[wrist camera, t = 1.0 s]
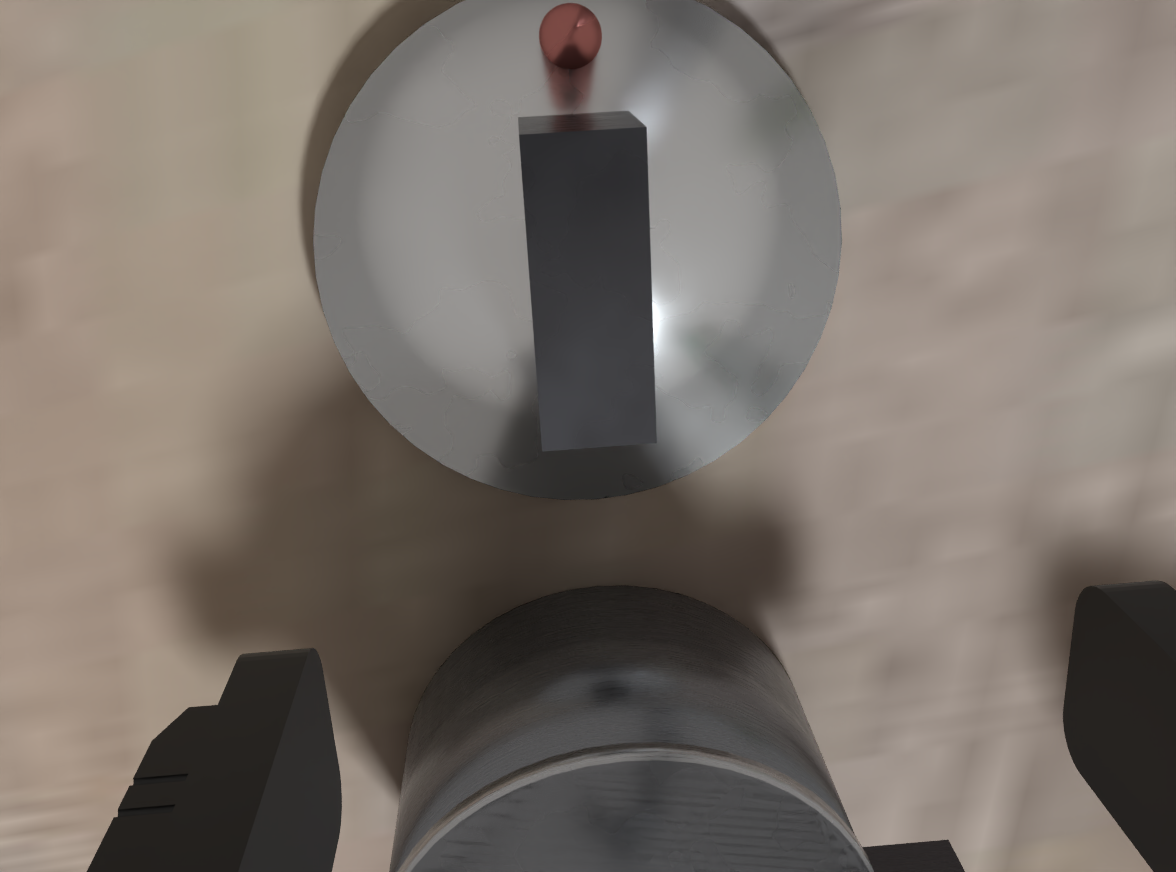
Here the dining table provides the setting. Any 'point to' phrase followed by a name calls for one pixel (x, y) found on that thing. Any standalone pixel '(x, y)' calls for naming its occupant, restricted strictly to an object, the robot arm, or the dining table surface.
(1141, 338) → the dining table surface
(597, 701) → the cooker pot
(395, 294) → the steel lid
